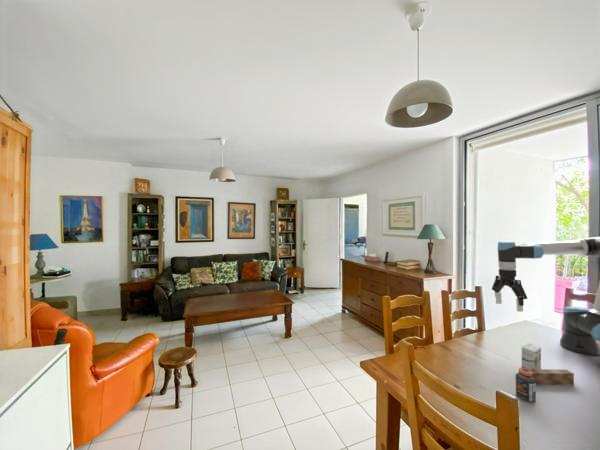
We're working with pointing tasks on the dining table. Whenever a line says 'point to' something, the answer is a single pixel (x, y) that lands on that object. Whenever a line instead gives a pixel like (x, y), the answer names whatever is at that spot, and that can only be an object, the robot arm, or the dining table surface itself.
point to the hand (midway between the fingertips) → (508, 307)
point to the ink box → (531, 356)
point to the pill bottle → (525, 385)
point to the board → (552, 377)
